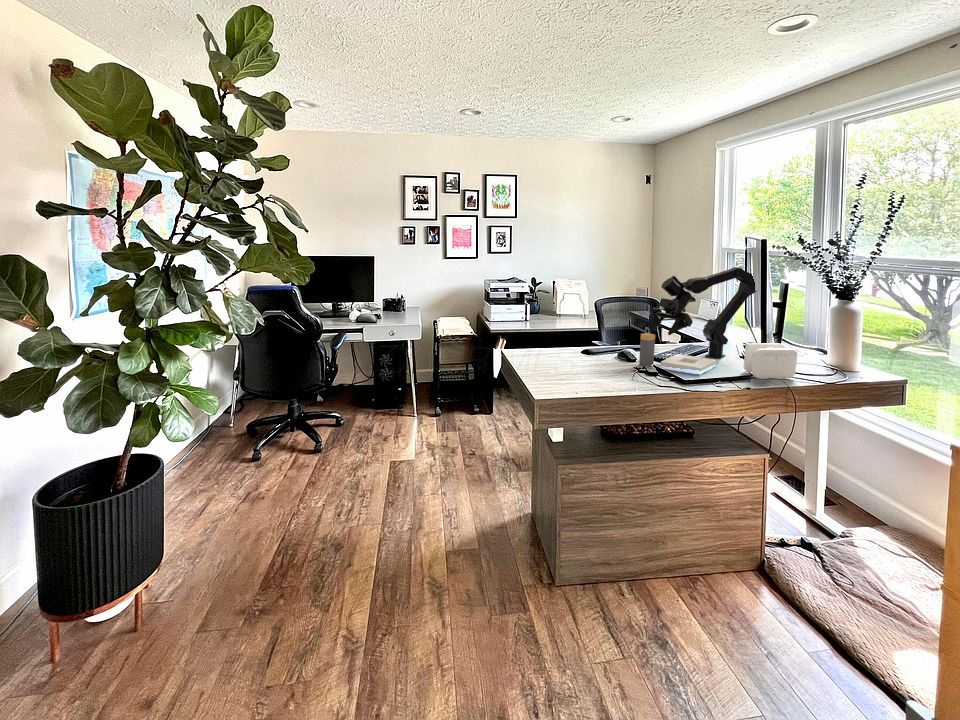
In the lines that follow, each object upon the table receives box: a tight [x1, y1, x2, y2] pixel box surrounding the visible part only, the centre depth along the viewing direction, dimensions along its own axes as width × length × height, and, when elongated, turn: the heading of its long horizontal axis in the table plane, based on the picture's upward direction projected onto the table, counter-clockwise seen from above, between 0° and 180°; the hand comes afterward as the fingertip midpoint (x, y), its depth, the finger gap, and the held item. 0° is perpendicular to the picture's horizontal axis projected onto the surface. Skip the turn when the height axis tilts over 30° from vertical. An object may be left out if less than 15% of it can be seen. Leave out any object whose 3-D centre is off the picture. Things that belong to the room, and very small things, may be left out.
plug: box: [638, 332, 656, 368], centre depth 229 cm, size 4×4×13 cm
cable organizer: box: [743, 342, 798, 380], centre depth 211 cm, size 15×11×12 cm
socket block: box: [660, 353, 717, 371], centre depth 225 cm, size 16×16×3 cm
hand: (659, 332), depth 231 cm, fingers open, 9 cm apart
